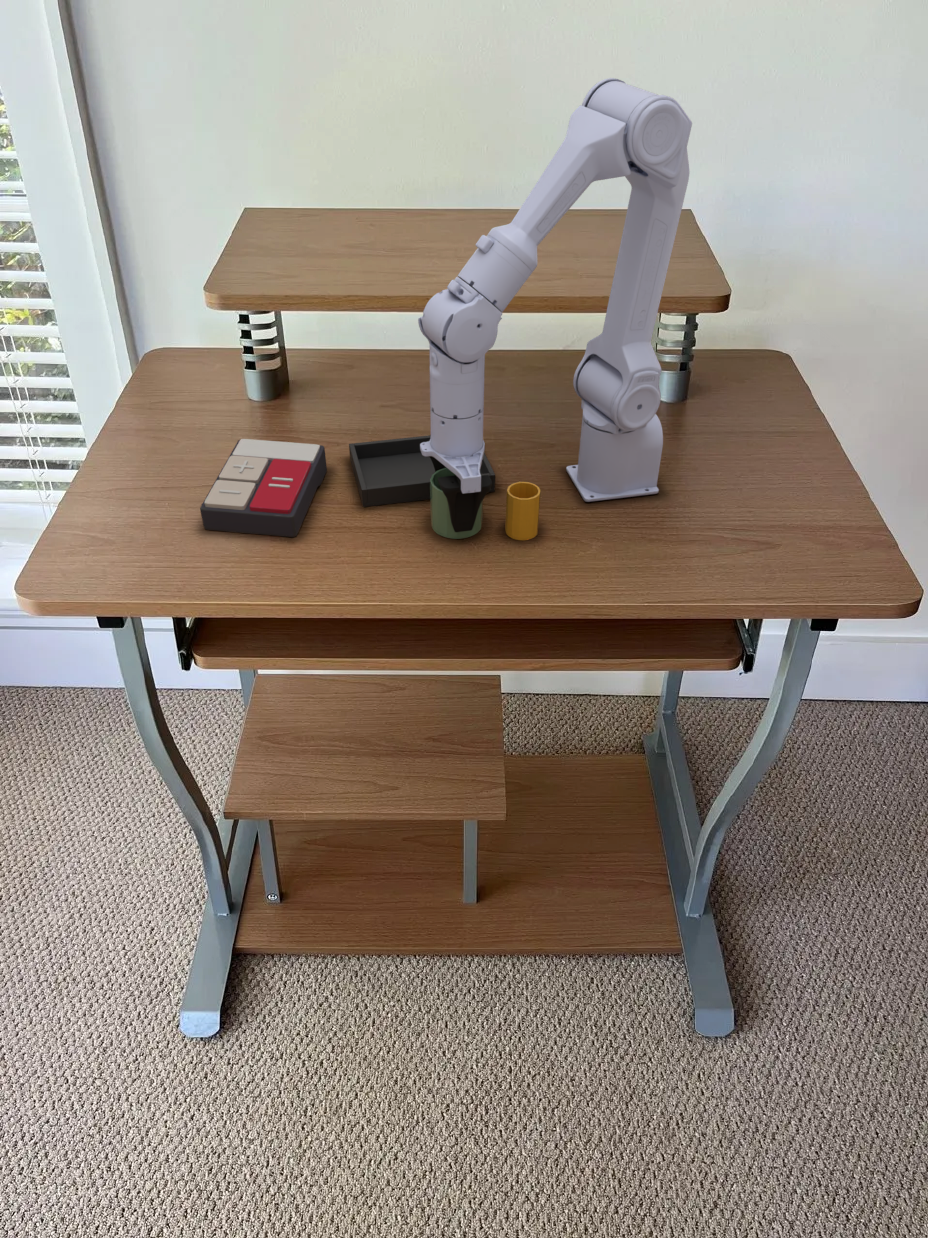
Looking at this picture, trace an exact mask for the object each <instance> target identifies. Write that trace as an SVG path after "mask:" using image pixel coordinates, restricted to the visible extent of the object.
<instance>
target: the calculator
mask: <svg viewBox="0 0 928 1238" xmlns="http://www.w3.org/2000/svg"><path fill="white" fill-rule="evenodd" d="M327 471H328V467H327V457H326V449H325V446H324V445H321V444H316V443H306V442H305V443H304V442H293V441H292V442H291V441H289V442H288V441H278V440H265V439H252V438H241V439H239V440H237V442H236V443H235V445H234V447H233V449H232V450H231V452H230V454H229V455H228V458H227V460H226V461H225V463H224V465H223V467H222V468H221V470H220V472H219V473H218V476H217V477H216V479H215V481H214V483H213V484H212V485H211V488H210V489H209V491H208V493H207V494H206V496H205V498H204V500H203V502H202V503H201V505H200V507H199V510H200V516H201V520H202V525H203V528H204V530H207V531H216V532H217V531H218V532H220V531H221V532H227V533H228V532H229V533H239V534H240V533H241V534H251V535H264V536H274V537H287V538H295V537H297V536H298V534H299V531H300V529H301V526H302V524H303V522H304V520H305V517H306V515H307V513H308V510H309V508H310V506H311V503H312V501H313V498H314V496H315V494H316V492H317V490H318V487H320V486H321V485H322V483H323V480H324V478H325V476H326V475H327Z"/></svg>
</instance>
